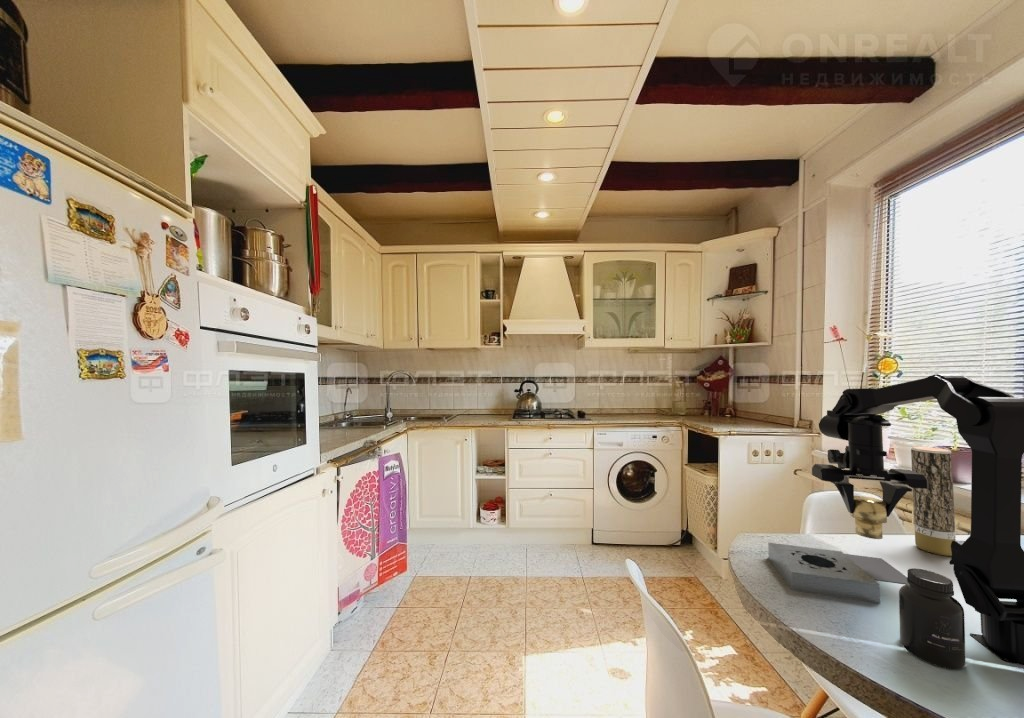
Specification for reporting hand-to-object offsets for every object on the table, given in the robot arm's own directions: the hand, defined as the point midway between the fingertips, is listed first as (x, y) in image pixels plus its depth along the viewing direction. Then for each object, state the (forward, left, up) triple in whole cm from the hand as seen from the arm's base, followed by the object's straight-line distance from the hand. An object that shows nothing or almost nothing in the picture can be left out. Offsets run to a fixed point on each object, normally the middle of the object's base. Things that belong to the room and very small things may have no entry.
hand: (868, 514), depth 84 cm
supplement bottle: (-29, +6, -12) cm, 32 cm away
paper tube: (+17, -21, -12) cm, 30 cm away
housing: (-9, +13, -12) cm, 20 cm away
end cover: (0, 0, -5) cm, 5 cm away
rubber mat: (0, 0, -12) cm, 12 cm away
